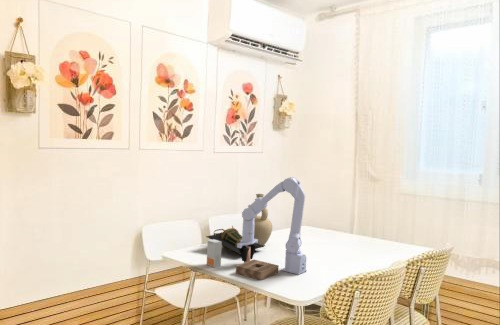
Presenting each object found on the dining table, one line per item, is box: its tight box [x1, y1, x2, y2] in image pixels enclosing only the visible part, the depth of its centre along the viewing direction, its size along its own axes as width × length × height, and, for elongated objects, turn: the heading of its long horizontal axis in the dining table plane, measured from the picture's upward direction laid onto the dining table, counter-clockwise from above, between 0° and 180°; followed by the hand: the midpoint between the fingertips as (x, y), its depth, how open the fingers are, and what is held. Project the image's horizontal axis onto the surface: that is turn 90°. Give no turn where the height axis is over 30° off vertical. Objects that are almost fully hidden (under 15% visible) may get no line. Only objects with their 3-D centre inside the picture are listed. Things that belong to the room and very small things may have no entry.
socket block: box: [235, 259, 279, 281], centre depth 181 cm, size 14×14×4 cm
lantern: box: [205, 225, 264, 255], centre depth 220 cm, size 14×23×30 cm
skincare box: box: [206, 239, 223, 268], centre depth 190 cm, size 6×4×12 cm
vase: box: [254, 193, 273, 246], centre depth 235 cm, size 17×17×30 cm
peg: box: [243, 246, 251, 263], centre depth 193 cm, size 3×3×9 cm
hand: (247, 260), depth 193 cm, fingers open, 4 cm apart
